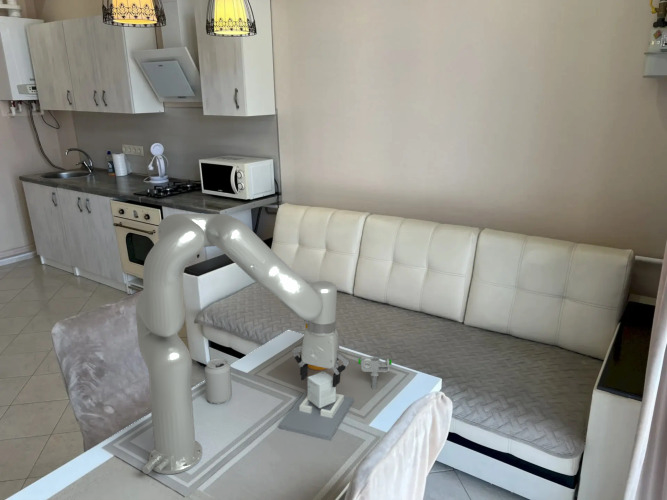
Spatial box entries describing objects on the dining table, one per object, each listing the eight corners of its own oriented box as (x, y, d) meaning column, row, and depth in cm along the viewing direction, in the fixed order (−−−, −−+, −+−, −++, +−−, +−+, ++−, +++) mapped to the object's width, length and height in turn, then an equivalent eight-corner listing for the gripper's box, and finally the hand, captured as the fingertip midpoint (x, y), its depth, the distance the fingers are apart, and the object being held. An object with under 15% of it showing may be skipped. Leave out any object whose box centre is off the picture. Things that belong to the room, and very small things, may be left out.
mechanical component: (390, 390, 153) (391, 361, 150) (357, 389, 153) (358, 360, 151) (389, 385, 156) (390, 356, 153) (357, 384, 156) (358, 356, 154)
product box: (307, 399, 142) (306, 376, 141) (323, 392, 146) (323, 370, 144) (319, 408, 138) (319, 385, 136) (336, 401, 141) (336, 378, 140)
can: (217, 408, 142) (215, 371, 139) (201, 399, 147) (199, 363, 144) (237, 397, 148) (235, 361, 145) (220, 389, 152) (218, 354, 149)
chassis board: (330, 440, 128) (330, 431, 128) (279, 428, 133) (279, 419, 133) (353, 401, 147) (354, 393, 146) (307, 392, 151) (307, 384, 151)
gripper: (287, 325, 135) (286, 381, 139) (347, 336, 130) (344, 394, 134) (299, 316, 142) (297, 370, 146) (355, 326, 137) (352, 381, 141)
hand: (319, 381), depth 140 cm, fingers open, 9 cm apart
